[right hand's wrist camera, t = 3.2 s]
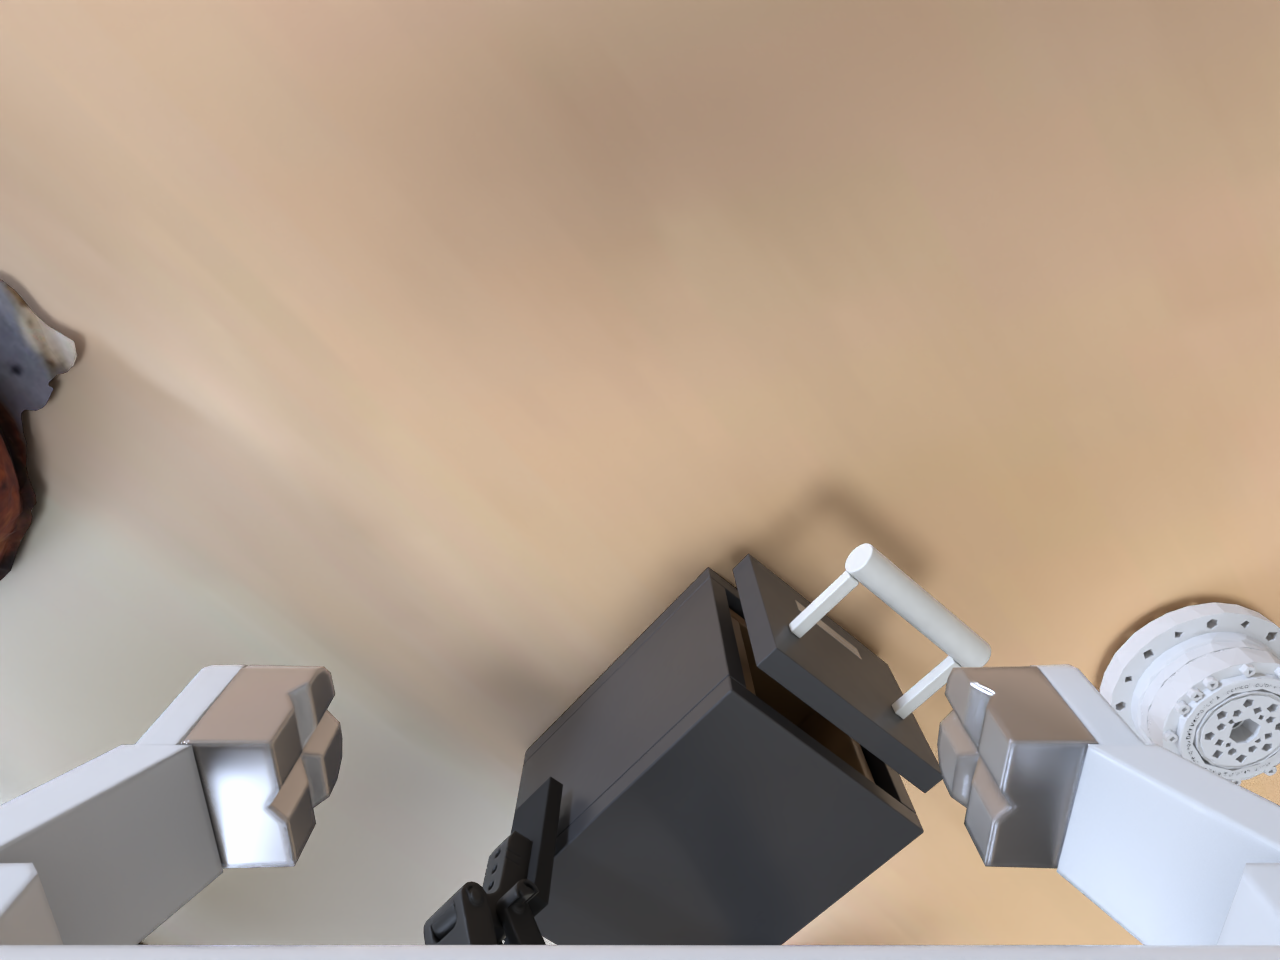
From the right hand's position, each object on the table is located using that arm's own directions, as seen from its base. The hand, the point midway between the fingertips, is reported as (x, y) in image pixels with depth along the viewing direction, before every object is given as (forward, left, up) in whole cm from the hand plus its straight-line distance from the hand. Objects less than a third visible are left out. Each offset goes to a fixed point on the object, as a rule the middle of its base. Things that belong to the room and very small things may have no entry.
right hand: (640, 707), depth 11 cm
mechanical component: (-16, +32, -28) cm, 46 cm away
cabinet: (+9, +21, -28) cm, 36 cm away
